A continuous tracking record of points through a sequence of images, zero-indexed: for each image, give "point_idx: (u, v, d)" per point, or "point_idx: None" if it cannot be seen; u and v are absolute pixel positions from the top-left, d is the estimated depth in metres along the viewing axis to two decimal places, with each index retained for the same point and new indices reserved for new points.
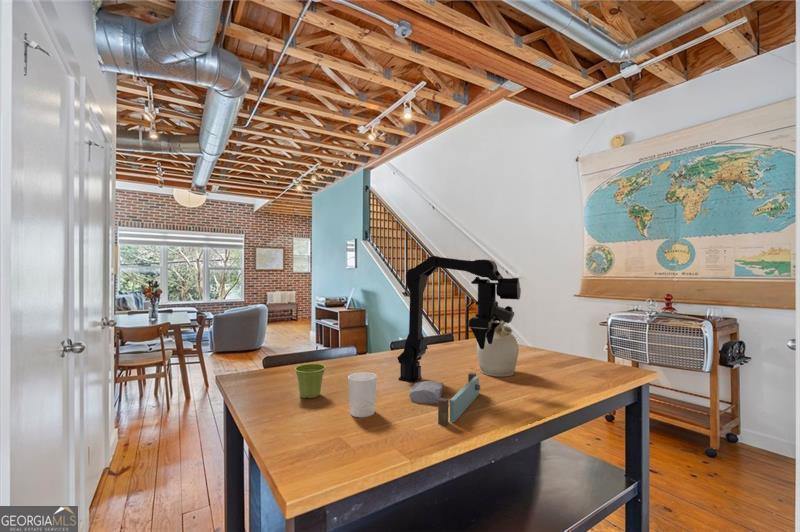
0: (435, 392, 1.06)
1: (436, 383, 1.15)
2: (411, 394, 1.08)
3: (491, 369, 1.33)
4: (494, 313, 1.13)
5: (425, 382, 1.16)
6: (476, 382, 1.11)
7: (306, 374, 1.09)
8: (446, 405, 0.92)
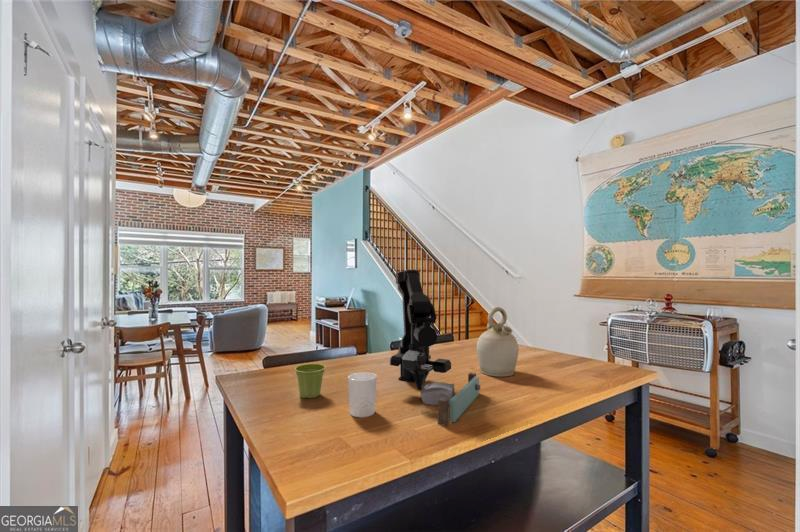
0: (447, 393, 1.05)
1: (447, 384, 1.14)
2: (423, 395, 1.07)
3: (491, 369, 1.33)
4: None
5: (436, 383, 1.15)
6: (476, 382, 1.11)
7: (306, 374, 1.09)
8: (446, 405, 0.92)
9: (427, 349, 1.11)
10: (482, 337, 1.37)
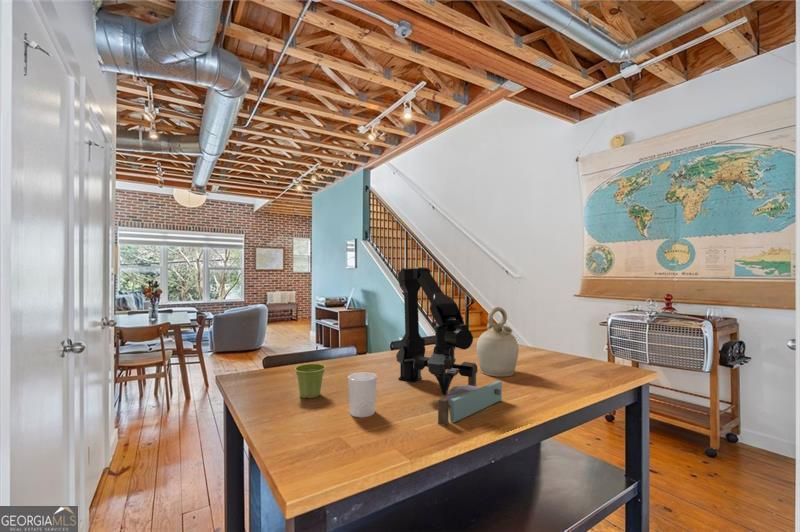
0: None
1: (475, 387, 1.11)
2: (448, 398, 1.05)
3: (491, 369, 1.33)
4: None
5: (463, 386, 1.12)
6: (497, 386, 1.07)
7: (306, 374, 1.09)
8: (446, 405, 0.92)
9: (453, 352, 1.08)
10: (482, 337, 1.37)
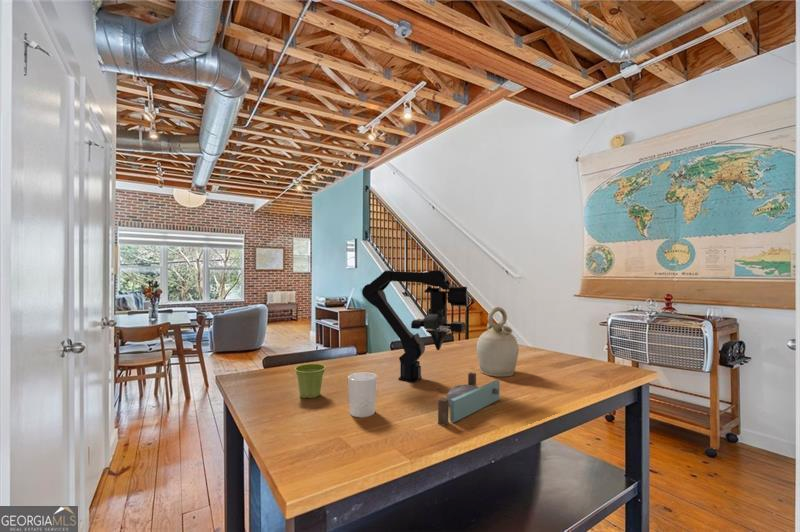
0: None
1: (476, 387, 1.11)
2: (448, 397, 1.06)
3: (491, 369, 1.33)
4: None
5: (464, 385, 1.12)
6: (495, 386, 1.07)
7: (306, 374, 1.09)
8: (446, 405, 0.92)
9: (445, 313, 1.26)
10: (482, 337, 1.37)
